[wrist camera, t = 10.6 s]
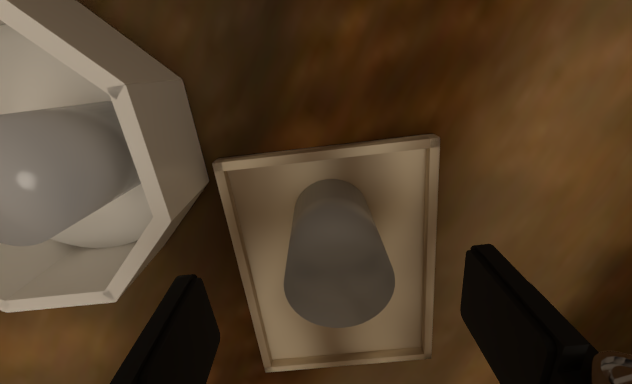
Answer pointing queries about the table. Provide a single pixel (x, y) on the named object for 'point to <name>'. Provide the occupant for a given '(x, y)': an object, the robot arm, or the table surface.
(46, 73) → the bowl
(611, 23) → the table surface
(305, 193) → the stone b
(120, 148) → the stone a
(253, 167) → the tray
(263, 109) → the table surface
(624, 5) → the table surface
